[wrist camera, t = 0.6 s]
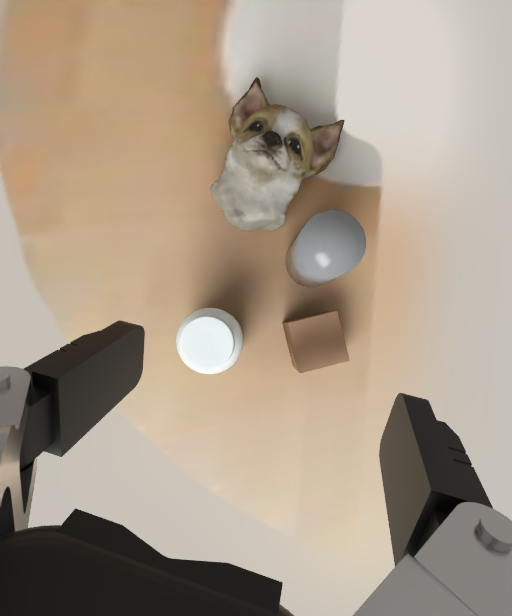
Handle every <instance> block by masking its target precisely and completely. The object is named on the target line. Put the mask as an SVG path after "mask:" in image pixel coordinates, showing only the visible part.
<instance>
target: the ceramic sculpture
mask: <svg viewBox="0 0 512 616" xmlns="http://www.w3.org/2000/svg"><path fill="white" fill-rule="evenodd" d="M343 124H344V120H340V121H338V122H336V123H334V124H331V125H326V126H318V127H315V128H313V129H311V130H310V129H309V127H308V124H307V122H306V120H305V119H304V118H303V117H302V116H301V115H300V114H299V113H297V112H295V111H294V110H292V109H290V108H288V107H285V106H281V105H269V104H268V102H267V99H266V97H265V95H264V93H263V91H262V89H261V84H260V80H259V78H258V77H256V78H255V80H254V82H253V83H252V85H251V87H250V89H249V90H248V91H247V92H246V94H245V95H244V96H243V97H242V98H241V99H240V100H239V101H238V103H236V105H235V106H234V107H233V111H232V115H231V117H230V119H229V125H230V132H231V136H232V138H233V140H234V141H233V143H232V145H231V148H230V150H229V151H228V153H227V155H226V162H225V165H224V171H223V173H222V174H221V175H220V177H219V179H218V180H217V181H215V182H214V183H213V184H212V185H211V187H210V190H211V192H212V196H213V199H214V201H215V202H216V204H217V205H218V206H219V207H220V208H221V209H222V212H223V214H224V217H225V219H226V221H227V222H228V223H229V224H230V225H231V226H234V227H237V228H238V229H240V230H242V231H245V232H250V231H253V230H268V231H272V230H276V229H278V228H279V227H281V226H283V225H284V224H285V222H286V210H287V207H288V205H289V203H290V202H291V200H292V199H293V197H294V195H295V194H297V193H298V190H299V188H300V185H301V182H302V180H303V179H304V178H307V177H311V176H314V175H316V174H318V173H320V172H321V171H323V170H324V169H326V167H327V166H328V164H329V163H330V162H331V160H333V159H334V156H335V153H336V150H337V146H338V142H339V138H340V133H341V130H342V128H343Z"/></svg>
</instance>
